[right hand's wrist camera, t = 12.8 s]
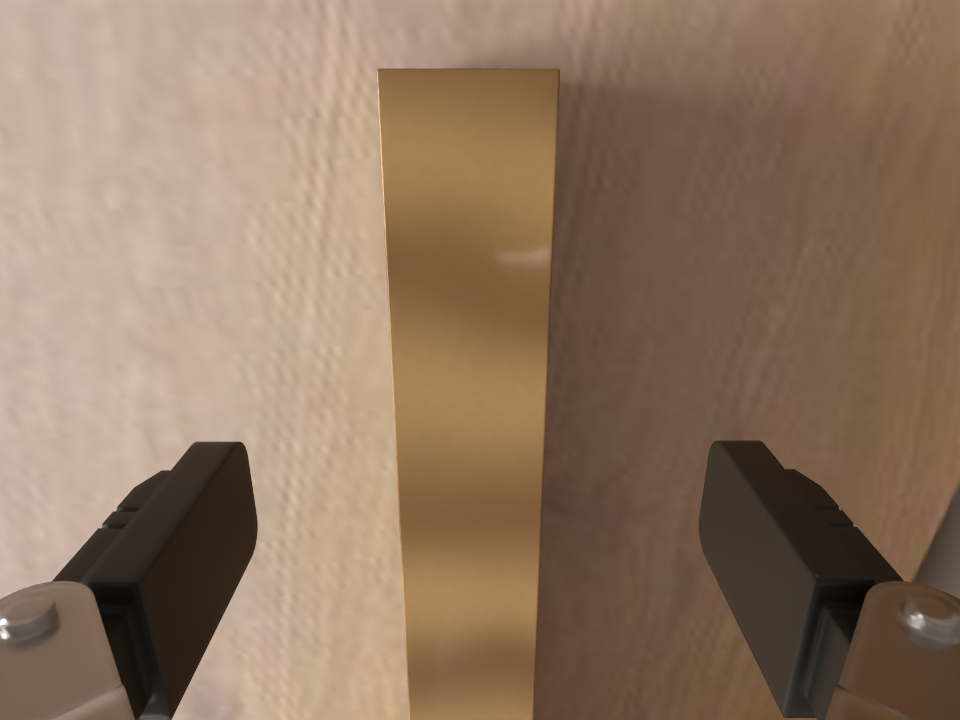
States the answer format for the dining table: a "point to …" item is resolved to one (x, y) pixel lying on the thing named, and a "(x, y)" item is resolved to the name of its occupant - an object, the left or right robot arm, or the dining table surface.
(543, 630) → the dining table surface
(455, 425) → the post
